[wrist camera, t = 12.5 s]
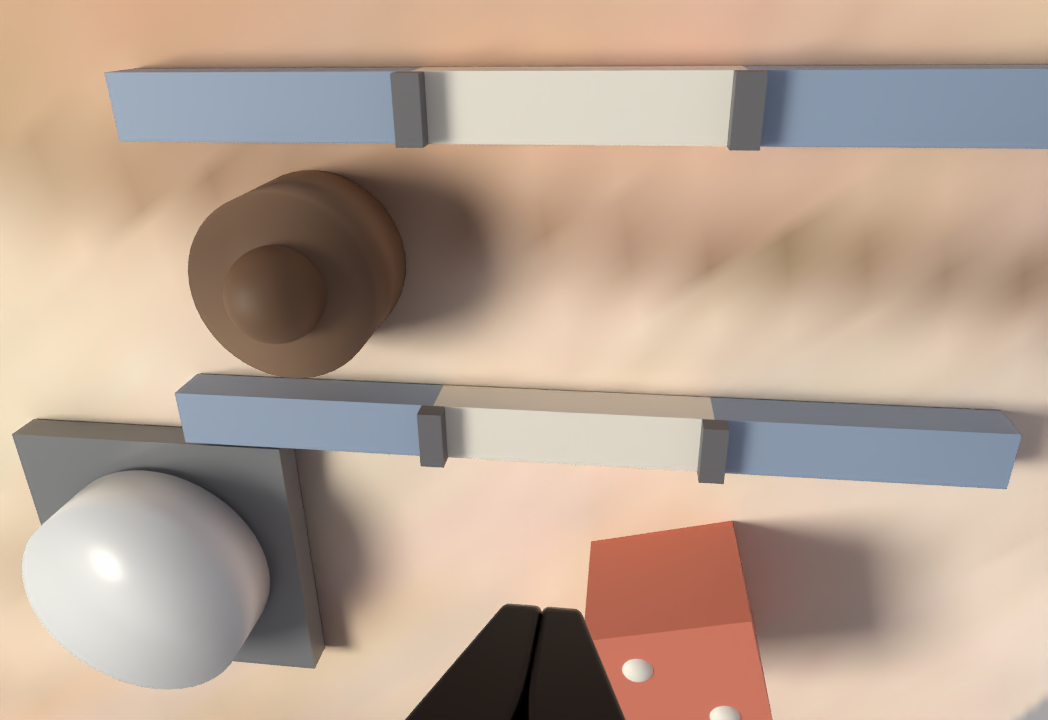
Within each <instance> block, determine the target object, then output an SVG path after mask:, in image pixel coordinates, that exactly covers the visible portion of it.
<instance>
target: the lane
mask: <svg viewBox="0 0 1048 720" xmlns="http://www.w3.org/2000/svg"><path fill="white" fill-rule="evenodd" d="M105 77H106V82H107V87H108V91H109V96H110V100H111V105H112V109H113V114H114V118H115V123H116V128H117V132H118V137H119V141H120V142H245V143H376V144H396V147H399V148H423V147H425V146H426V145H428V144H507V145H637V146H727V147H728V149H729V150H760V146H768V147H899V148H1030V149H1048V64H1016V65H793V66H571V67H348V68H135V69H127V70H120V71H112V72H105ZM175 396H176V401H177V406H178V410H179V415H180V419H181V424H182V428H183V433H184V437H185V442H188V443H206V444H223V445H241V446H259V447H276V448H294V449H311V450H329V451H346V452H364V453H381V454H399V455H416V456H420V463H421V466H426V467H443V468H444V466H445V463H446V461H447V458H448V457H451V458H469V459H486V460H504V461H521V462H539V463H556V464H574V465H592V466H609V467H627V468H644V469H662V470H679V471H697V474H698V481H699V483H716V484H724V476H725V473H732V474H749V475H767V476H784V477H802V478H819V479H837V480H854V481H872V482H889V483H907V484H925V485H942V486H960V487H977V488H995V489H1007V486H1008V483H1009V479H1010V476H1011V472H1012V469H1013V465H1014V462H1015V458H1016V455H1017V451H1018V447H1019V444H1020V440H1021V437H1022V434H1021V433H1020V432H1019V431H1018V430H1017V428H1016V427H1015V426H1014V425H1013V424H1012V423H1011V422H1010V421H1009V420H1008V418H1007V417H1006V416H1005V415H1004V414H1003V413H1002V412H1001V411H999V410H977V409H955V408H933V407H911V406H890V405H868V404H846V403H824V402H802V401H780V400H758V399H736V398H714V397H693V396H671V395H649V394H627V393H605V392H583V391H561V390H539V389H518V388H496V387H474V386H452V385H430V384H408V383H386V382H364V381H343V380H321V379H299V378H277V377H255V376H233V375H211V374H197V375H196V376H194V377H193V378H192V379H191V380H190V381H189V382H187V383H186V384H185V385H184V386H183V387H182V388H180V389H179V390H178V391H177V392H176V393H175Z"/></svg>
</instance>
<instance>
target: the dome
mask: <svg viewBox="0 0 1048 720" xmlns="http://www.w3.org/2000/svg"><path fill="white" fill-rule="evenodd" d="M22 576H23V584H24V587H25V591H26V595H27V597H28V599H29V602H30V604H31V606H32V608H33V610H34V612H35V613H36V615H37V617H38V619H39V620H40V621H41V623H42V624H43V625H44V627H45V628H46V629H47V631H48V632H49V633H50V634H51V635H52V636H53V637H54V639H55V640H56V641H58V642H59V643H60V644H61V645H62V646H63V647H64V648H65V649H66V650H67V651H69V652H70V653H71V654H72V655H74V656H75V657H76V658H78V659H79V660H81V661H82V662H84V663H85V664H87V665H88V666H90V667H92V668H94V669H96V670H97V671H99V672H101V673H103V674H105V675H108V676H110V677H112V678H115V679H117V680H120V681H123V682H126V683H129V684H133V685H137V686H141V687H147V688H154V689H182V688H187V687H193V686H196V685H199V684H202V683H205V682H207V681H209V680H211V679H213V678H215V677H216V676H218V675H219V674H221V673H222V672H223V671H224V670H225V669H226V668H227V667H228V666H229V665H230V664H231V663H232V661H233V660H234V658H235V657H236V655H237V653H238V652H239V650H240V648H241V647H242V645H243V644H244V642H245V640H246V639H247V637H248V635H249V634H250V632H251V630H252V629H253V627H254V626H255V624H256V622H257V621H258V619H259V617H260V616H261V614H262V612H263V611H264V608H265V606H266V604H267V601H268V597H269V592H270V574H269V568H268V564H267V560H266V557H265V555H264V552H263V550H262V547H261V545H260V544H259V542H258V540H257V538H256V536H255V535H254V533H253V532H252V531H251V529H250V528H249V527H248V525H247V524H246V523H245V522H244V521H243V519H242V518H241V517H240V516H239V515H238V514H237V513H236V512H235V511H234V510H233V509H232V508H230V507H229V506H228V505H227V504H226V503H225V502H223V501H222V500H221V499H219V498H218V497H216V496H215V495H214V494H212V493H210V492H209V491H207V490H205V489H203V488H202V487H200V486H198V485H196V484H193V483H191V482H189V481H187V480H184V479H181V478H178V477H176V476H173V475H168V474H164V473H160V472H153V471H145V470H130V471H122V472H116V473H112V474H108V475H105V476H103V477H101V478H98V479H96V480H94V481H93V482H91V483H90V484H88V485H87V486H85V487H84V488H83V489H82V490H81V491H80V492H79V493H77V494H76V495H75V496H74V497H73V498H72V499H71V500H69V501H68V502H67V503H66V504H65V505H64V506H63V507H62V508H60V509H59V510H58V511H57V512H56V513H55V514H54V515H52V516H51V517H50V518H49V519H48V520H47V521H46V522H44V523H43V524H42V525H41V526H40V527H39V528H38V529H37V530H36V531H35V532H34V534H33V535H32V537H31V538H30V540H29V542H28V544H27V546H26V548H25V551H24V556H23V560H22Z"/></svg>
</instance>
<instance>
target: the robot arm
mask: <svg viewBox="0 0 1048 720" xmlns="http://www.w3.org/2000/svg"><path fill="white" fill-rule="evenodd" d="M405 720H626V719H625V717H624V714H623V712H622V710H621V707H620V705H619V702H618V700H617V697H616V695H615V693H614V690H613V688H612V685H611V683H610V680H609V678H608V676H607V673H606V671H605V668H604V666H603V664H602V661H601V659H600V656H599V654H598V651H597V649H596V647H595V644H594V642H593V639H592V637H591V634H590V632H589V630H588V627H587V625H586V622H585V620H584V617H583V615H582V614H581V612H580V611H578V610H577V609H569V608H557V607H547V608H545V609H544V610H543V612H542V611H541V609H540V608H539V607H538V606H533V605H520V604H506V605H504V606H502V608H501V609H500V610H499V611H498V612H497V613H496V614H495V616H494V617H493V618H492V619H491V620H490V621H489V623H488V624H487V625H486V626H485V627H484V628H483V630H482V631H481V632H480V633H479V634H478V635H477V637H476V638H475V639H474V640H473V641H472V642H471V644H470V645H469V646H468V647H467V648H466V649H465V651H464V652H463V653H462V654H461V655H460V656H459V658H458V659H457V660H456V661H455V662H454V663H453V664H452V666H451V667H450V668H449V669H448V670H447V671H446V673H445V674H444V675H443V676H442V677H441V678H440V680H439V681H438V682H437V683H436V684H435V685H434V687H433V688H432V689H431V690H430V691H429V692H428V694H427V695H426V696H425V697H424V698H423V699H422V701H421V702H420V703H419V704H418V705H417V706H416V708H415V709H414V710H413V711H412V712H411V713H410V715H409V716H408V717H407V718H406V719H405Z"/></svg>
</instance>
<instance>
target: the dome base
mask: <svg viewBox="0 0 1048 720" xmlns="http://www.w3.org/2000/svg"><path fill="white" fill-rule="evenodd" d="M12 436H13V439H14V442H15V445H16V448H17V451H18V454H19V458H20V461H21V464H22V467H23V470H24V473H25V476H26V479H27V482H28V485H29V489H30V492H31V495H32V498H33V501H34V504H35V507H36V510H37V513H38V516H39V520H40V523H41V525H42V524H43V523H44V522H46V521H47V520H48V519H49V518H50V517H51V516H52V515H54V514H55V513H56V512H57V511H58V510H59V509H60V508H62V507H63V506H64V505H65V504H66V503H67V502H68V501H69V500H71V499H72V498H73V497H74V496H75V495H76V494H77V493H79V492H80V491H81V490H82V489H83V488H84V487H85V486H87V485H88V484H90V483H91V482H93V481H94V480H96V479H98V478H101V477H103V476H105V475H108V474H112V473H116V472H122V471H130V470H145V471H153V472H160V473H164V474H168V475H173V476H176V477H178V478H181V479H184V480H187V481H189V482H191V483H193V484H196V485H198V486H200V487H202V488H203V489H205V490H207V491H209V492H210V493H212V494H214V495H215V496H216V497H218V498H219V499H221V500H222V501H223V502H225V503H226V504H227V505H228V506H229V507H230V508H232V509H233V510H234V511H235V512H236V513H237V514H238V515H239V516H240V517H241V518H242V519H243V521H244V522H245V523H246V524H247V525H248V527H249V528H250V529H251V531H252V532H253V533H254V535H255V536H256V538H257V540H258V542H259V544H260V545H261V547H262V550H263V552H264V555H265V557H266V560H267V564H268V568H269V574H270V592H269V597H268V601H267V604H266V606H265V608H264V611H263V612H262V614H261V616H260V617H259V619H258V621H257V622H256V624H255V626H254V627H253V629H252V630H251V632H250V634H249V635H248V637H247V639H246V640H245V642H244V644H243V645H242V647H241V648H240V650H239V652H238V653H237V655H236V657H235V658H234V660H233V661H237V662H248V663H259V664H270V665H281V666H292V667H302V668H313V669H315V667H316V665H317V663H318V661H319V659H320V657H321V654H322V652H323V650H324V648H325V645H324V639H323V632H322V626H321V619H320V613H319V606H318V600H317V593H316V587H315V580H314V574H313V568H312V561H311V555H310V548H309V542H308V535H307V529H306V522H305V516H304V509H303V503H302V496H301V490H300V483H299V477H298V470H297V464H296V457H295V451H294V448H276V447H259V446H241V445H223V444H206V443H188V442H185V437H184V433H183V428H182V427H166V426H148V425H130V424H111V423H93V422H75V421H56V420H38V419H33V420H32V421H30V422H29V423H28V424H26V425H25V426H23V427H22V428H20V429H19V430H18V431H16V432H15V433H13V434H12Z"/></svg>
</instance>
